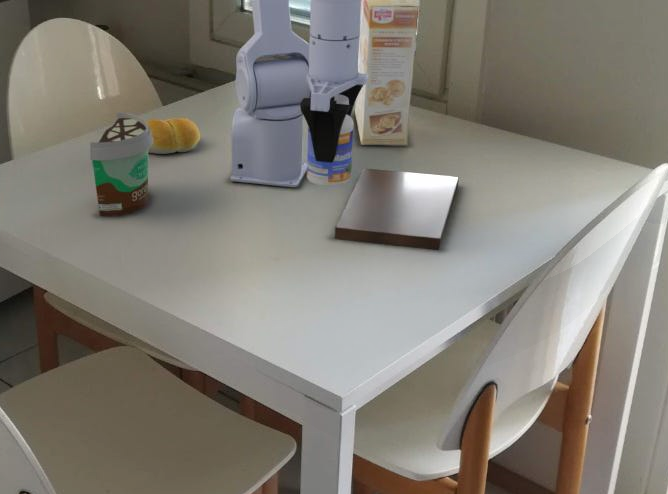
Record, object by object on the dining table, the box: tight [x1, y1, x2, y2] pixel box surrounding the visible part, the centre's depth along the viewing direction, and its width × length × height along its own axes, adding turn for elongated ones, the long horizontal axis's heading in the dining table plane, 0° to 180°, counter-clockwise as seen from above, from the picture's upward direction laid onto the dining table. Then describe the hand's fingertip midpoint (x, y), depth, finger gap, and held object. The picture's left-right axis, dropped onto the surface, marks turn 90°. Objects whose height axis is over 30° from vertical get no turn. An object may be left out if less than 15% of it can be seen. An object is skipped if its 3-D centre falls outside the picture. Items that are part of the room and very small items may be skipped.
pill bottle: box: [306, 94, 355, 188], centre depth 131 cm, size 5×5×10 cm
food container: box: [89, 111, 153, 217], centre depth 143 cm, size 12×6×10 cm, turn 168°
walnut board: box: [334, 167, 460, 251], centre depth 143 cm, size 13×20×2 cm, turn 165°
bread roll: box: [146, 117, 201, 155], centre depth 161 cm, size 8×9×4 cm
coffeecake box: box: [354, 0, 420, 146], centre depth 162 cm, size 15×7×20 cm, turn 179°
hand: (329, 152), depth 132 cm, fingers closed on pill bottle, 5 cm apart
